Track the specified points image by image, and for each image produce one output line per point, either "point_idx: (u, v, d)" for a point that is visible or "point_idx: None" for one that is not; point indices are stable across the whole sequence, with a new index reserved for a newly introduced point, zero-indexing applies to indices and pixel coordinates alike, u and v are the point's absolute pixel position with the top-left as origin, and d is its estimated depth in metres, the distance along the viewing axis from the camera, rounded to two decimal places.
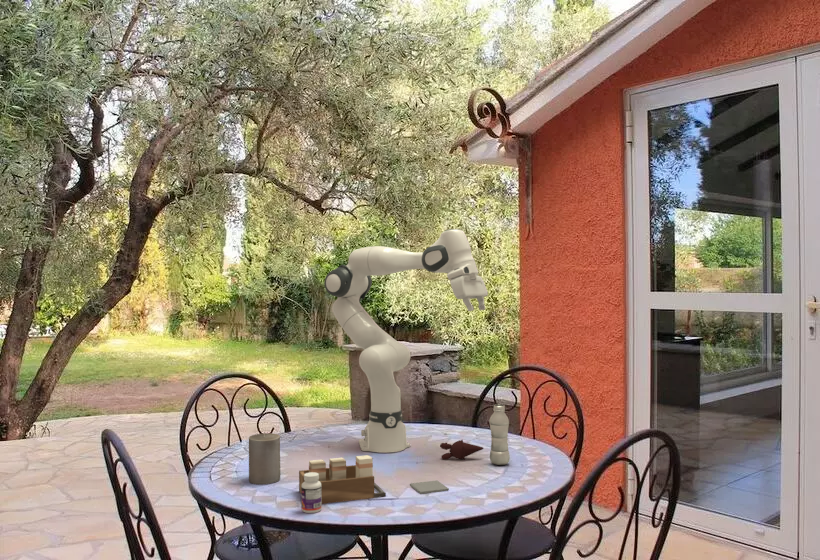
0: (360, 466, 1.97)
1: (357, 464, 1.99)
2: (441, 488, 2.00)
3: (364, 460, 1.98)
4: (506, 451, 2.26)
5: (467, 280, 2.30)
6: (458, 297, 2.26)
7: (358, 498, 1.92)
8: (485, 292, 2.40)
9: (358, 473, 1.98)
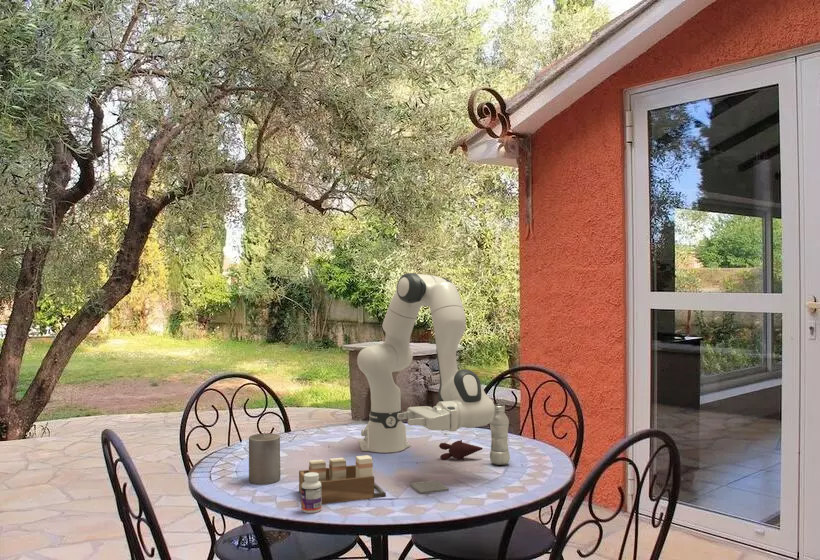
0: (360, 466, 1.97)
1: (357, 464, 1.99)
2: (441, 488, 2.00)
3: (364, 460, 1.98)
4: (506, 451, 2.26)
5: None
6: (430, 421, 1.97)
7: (358, 498, 1.92)
8: None
9: (358, 473, 1.98)
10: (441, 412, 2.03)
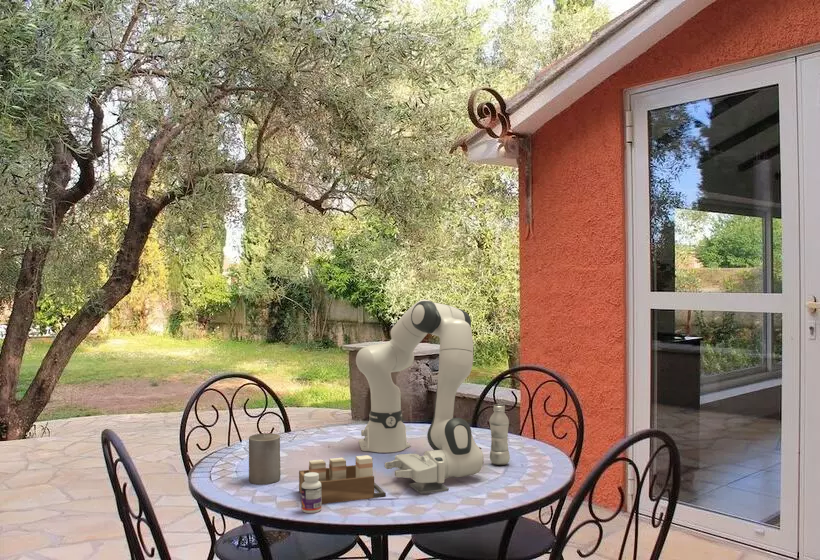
0: (360, 466, 1.97)
1: (357, 464, 1.99)
2: (441, 488, 2.00)
3: (364, 460, 1.98)
4: (506, 451, 2.26)
5: None
6: (417, 473, 1.95)
7: (358, 498, 1.92)
8: None
9: (358, 473, 1.98)
10: (428, 463, 2.02)
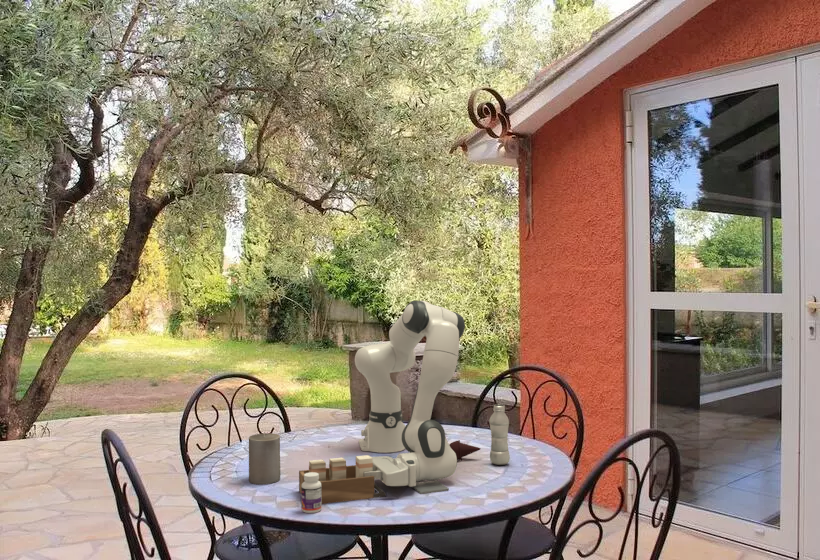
0: (360, 466, 1.97)
1: (357, 464, 1.99)
2: (441, 488, 2.00)
3: (364, 460, 1.98)
4: (506, 451, 2.26)
5: None
6: (387, 477, 1.92)
7: (358, 498, 1.92)
8: None
9: (358, 473, 1.98)
10: (400, 466, 1.99)
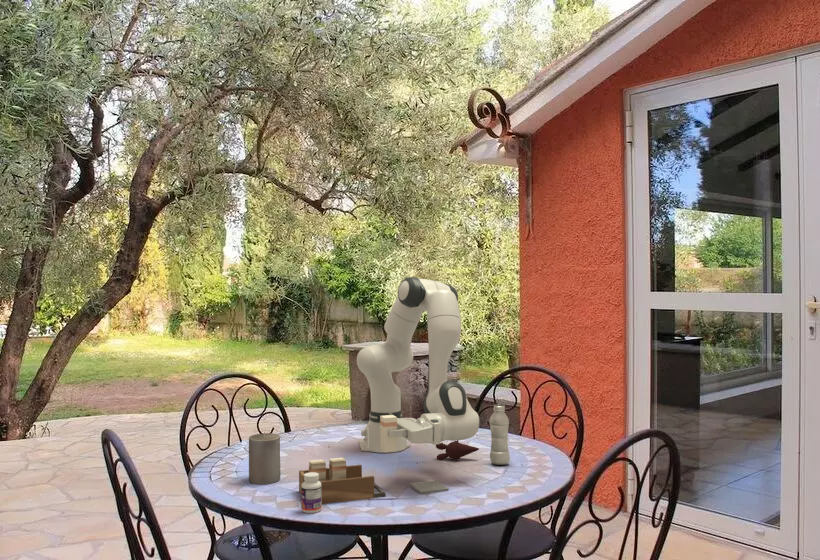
0: (385, 424, 2.00)
1: (382, 423, 2.02)
2: (441, 488, 2.00)
3: (389, 419, 2.01)
4: (506, 451, 2.26)
5: None
6: (412, 434, 1.95)
7: (358, 498, 1.92)
8: None
9: (383, 432, 2.01)
10: (424, 425, 2.01)
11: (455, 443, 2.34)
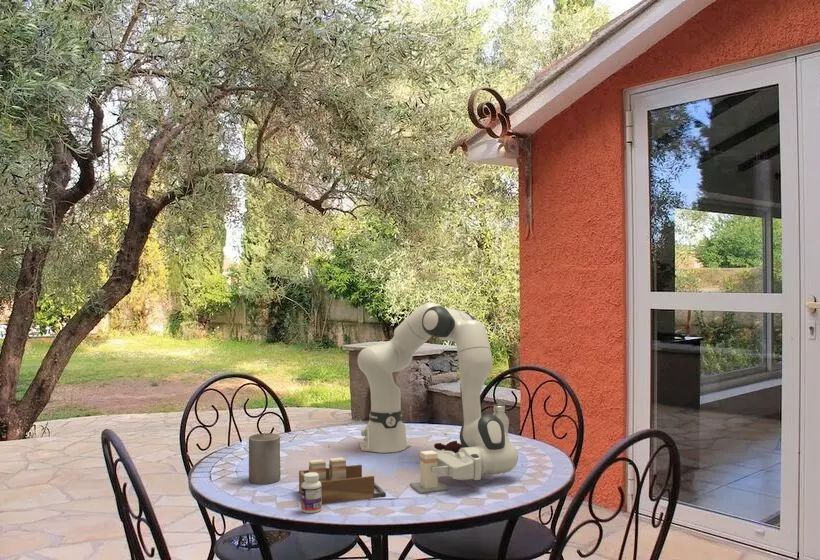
0: (426, 461, 2.00)
1: (422, 459, 2.02)
2: (441, 488, 2.00)
3: (429, 455, 2.01)
4: None
5: None
6: (454, 470, 1.95)
7: (358, 498, 1.92)
8: None
9: (423, 468, 2.01)
10: (465, 460, 2.01)
11: (453, 443, 2.33)
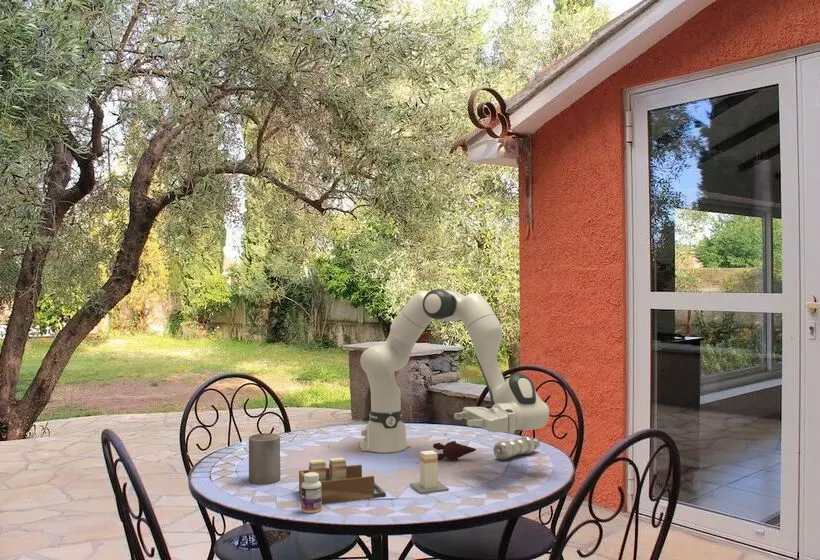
0: (426, 461, 2.00)
1: (422, 459, 2.02)
2: (441, 488, 2.00)
3: (429, 455, 2.01)
4: (510, 443, 2.35)
5: None
6: (490, 423, 2.01)
7: (358, 498, 1.92)
8: None
9: (423, 468, 2.01)
10: (499, 414, 2.07)
11: (452, 443, 2.33)
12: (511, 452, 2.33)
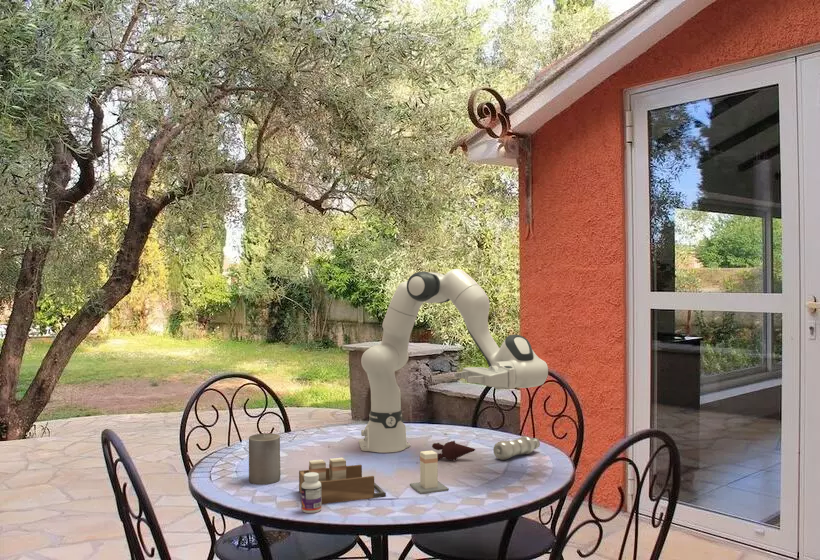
0: (426, 461, 2.00)
1: (422, 459, 2.02)
2: (441, 488, 2.00)
3: (429, 455, 2.01)
4: (510, 443, 2.35)
5: None
6: (490, 378, 2.02)
7: (358, 498, 1.92)
8: None
9: (423, 468, 2.01)
10: (498, 371, 2.09)
11: (451, 443, 2.33)
12: (511, 452, 2.33)
